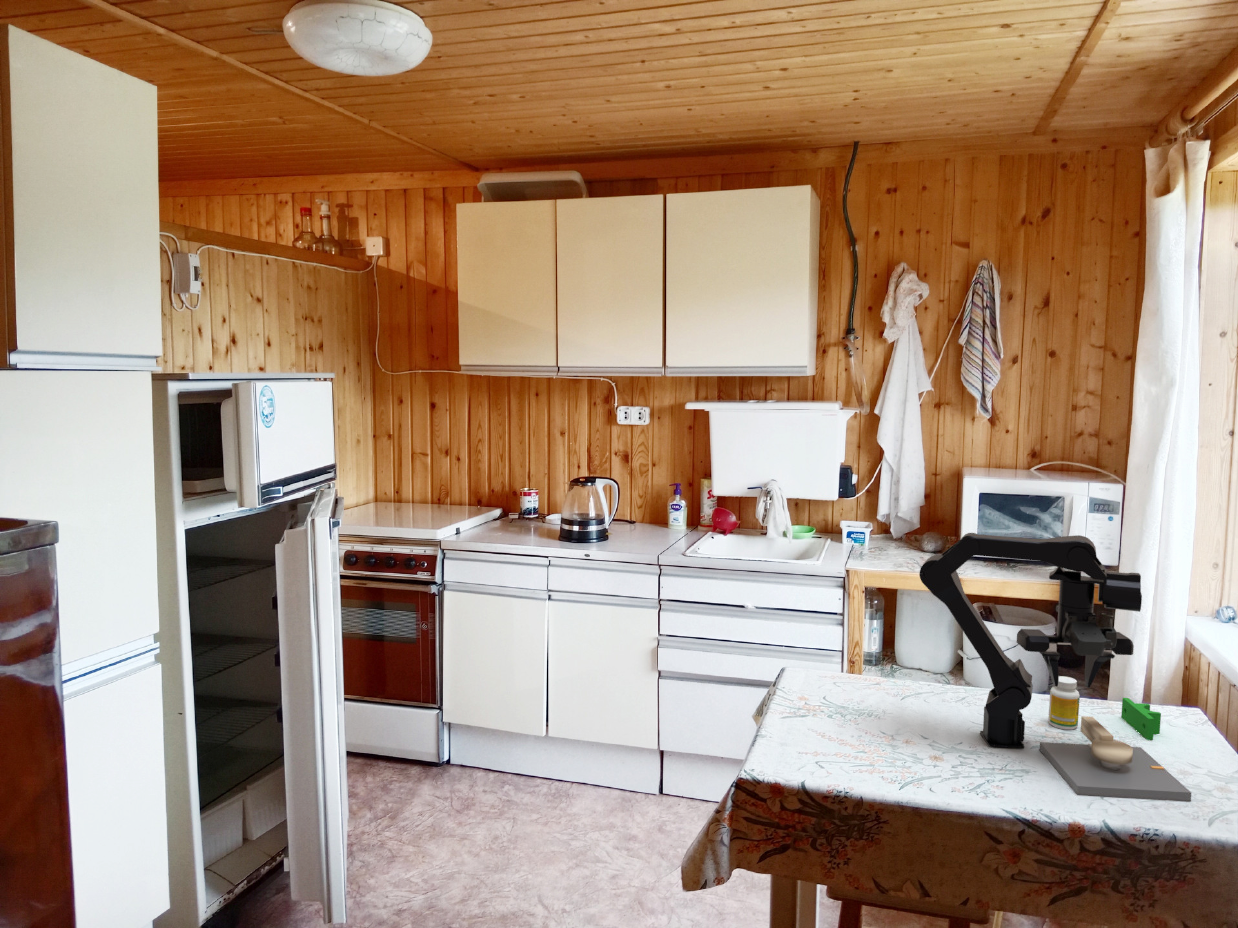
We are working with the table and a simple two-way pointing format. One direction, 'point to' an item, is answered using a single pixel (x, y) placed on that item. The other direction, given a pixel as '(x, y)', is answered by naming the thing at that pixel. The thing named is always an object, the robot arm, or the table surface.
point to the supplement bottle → (1064, 704)
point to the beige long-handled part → (1105, 743)
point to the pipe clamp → (1141, 718)
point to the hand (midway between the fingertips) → (1071, 686)
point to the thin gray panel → (1113, 774)
